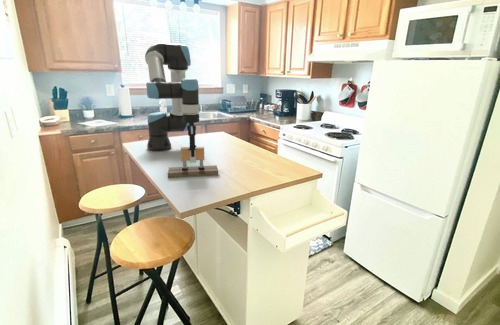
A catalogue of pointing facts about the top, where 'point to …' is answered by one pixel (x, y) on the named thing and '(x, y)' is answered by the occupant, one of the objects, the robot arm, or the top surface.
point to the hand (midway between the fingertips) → (193, 161)
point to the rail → (192, 171)
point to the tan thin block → (186, 155)
